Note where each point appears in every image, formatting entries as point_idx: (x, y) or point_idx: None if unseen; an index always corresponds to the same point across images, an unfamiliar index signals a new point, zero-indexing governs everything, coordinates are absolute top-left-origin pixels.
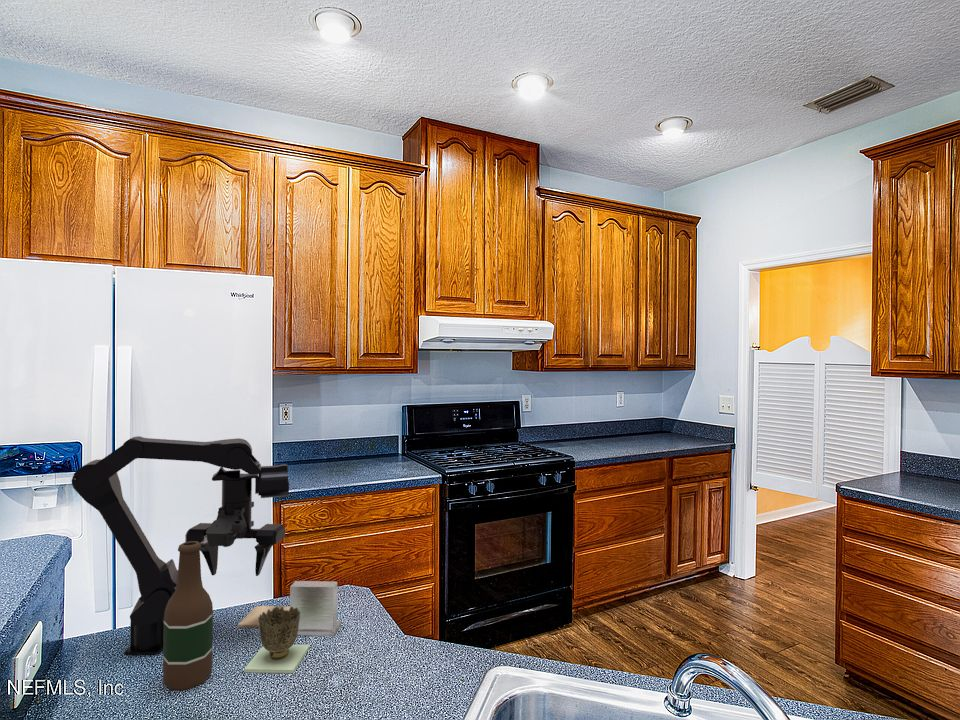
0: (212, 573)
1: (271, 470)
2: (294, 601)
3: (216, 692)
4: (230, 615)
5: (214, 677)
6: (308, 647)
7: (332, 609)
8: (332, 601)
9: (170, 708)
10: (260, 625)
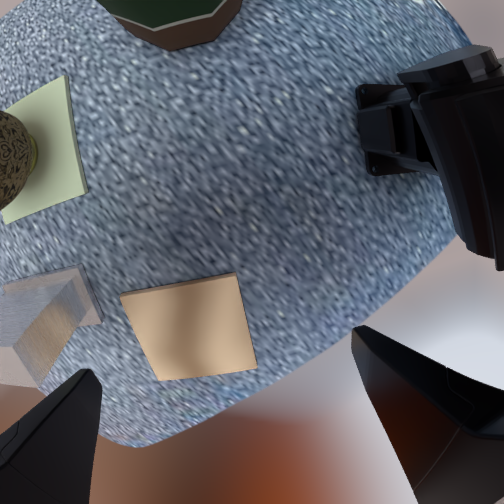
0: (363, 331)
1: None
2: (27, 317)
3: (87, 2)
4: (301, 322)
5: (122, 33)
6: (3, 216)
7: None
8: None
9: None
10: None
